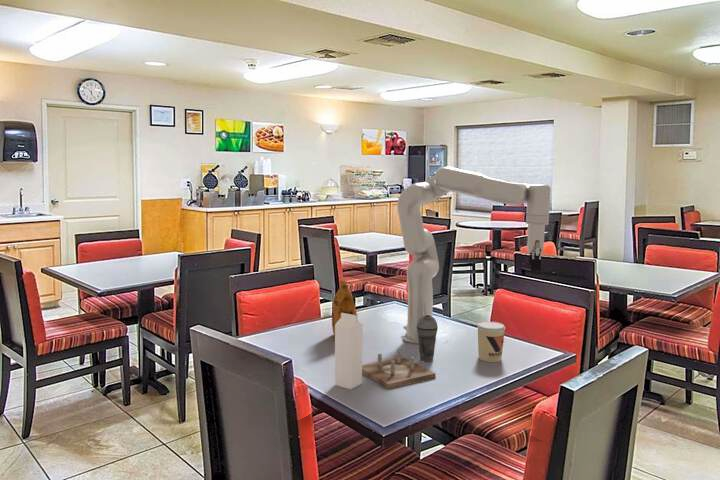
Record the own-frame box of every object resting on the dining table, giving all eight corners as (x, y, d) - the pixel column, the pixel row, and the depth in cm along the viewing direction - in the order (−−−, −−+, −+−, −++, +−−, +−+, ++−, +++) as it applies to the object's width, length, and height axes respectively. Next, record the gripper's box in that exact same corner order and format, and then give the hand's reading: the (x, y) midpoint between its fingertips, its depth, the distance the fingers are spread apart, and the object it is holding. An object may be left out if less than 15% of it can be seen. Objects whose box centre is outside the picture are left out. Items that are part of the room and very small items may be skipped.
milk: (346, 379, 178) (347, 310, 175) (362, 384, 174) (363, 313, 171) (334, 385, 173) (334, 314, 170) (350, 390, 169) (350, 317, 166)
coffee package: (332, 343, 214) (332, 285, 211) (331, 333, 226) (331, 279, 224) (359, 342, 215) (359, 285, 212) (356, 333, 227) (356, 278, 224)
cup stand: (357, 370, 185) (357, 352, 185) (402, 361, 195) (402, 344, 194) (387, 388, 170) (388, 369, 169) (435, 377, 179) (435, 359, 179)
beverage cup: (436, 364, 192) (437, 306, 189) (414, 362, 193) (415, 304, 191) (437, 357, 199) (439, 301, 196) (417, 355, 200) (418, 300, 198)
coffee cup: (488, 364, 192) (489, 330, 190) (470, 356, 200) (471, 323, 198) (509, 360, 196) (511, 326, 194) (491, 352, 204) (492, 320, 203)
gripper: (524, 217, 207) (522, 263, 209) (527, 221, 190) (524, 272, 193) (546, 218, 205) (543, 264, 208) (551, 222, 189) (548, 273, 191)
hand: (534, 268), depth 200 cm, fingers open, 9 cm apart
